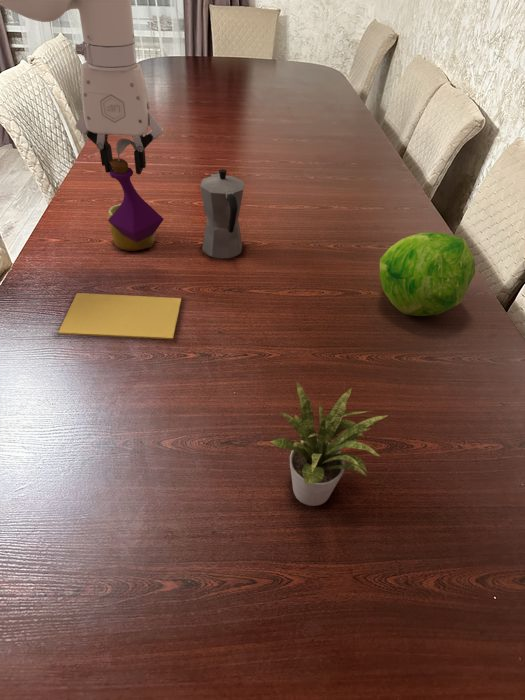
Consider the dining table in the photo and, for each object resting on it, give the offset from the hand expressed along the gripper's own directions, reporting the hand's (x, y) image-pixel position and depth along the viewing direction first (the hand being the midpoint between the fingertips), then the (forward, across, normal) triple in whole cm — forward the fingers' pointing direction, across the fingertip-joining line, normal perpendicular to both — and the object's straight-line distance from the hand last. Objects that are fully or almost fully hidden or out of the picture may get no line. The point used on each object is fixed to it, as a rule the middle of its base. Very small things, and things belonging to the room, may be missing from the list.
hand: (124, 169), depth 92 cm
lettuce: (+22, +56, -6) cm, 61 cm away
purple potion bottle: (+13, +1, 0) cm, 13 cm away
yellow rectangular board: (+22, 0, -14) cm, 26 cm away
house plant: (+22, +33, -51) cm, 65 cm away
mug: (+22, -3, +14) cm, 26 cm away
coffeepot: (+22, +17, +11) cm, 30 cm away
